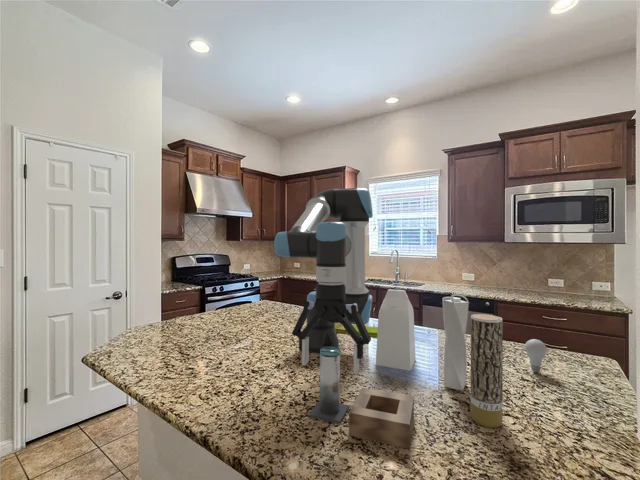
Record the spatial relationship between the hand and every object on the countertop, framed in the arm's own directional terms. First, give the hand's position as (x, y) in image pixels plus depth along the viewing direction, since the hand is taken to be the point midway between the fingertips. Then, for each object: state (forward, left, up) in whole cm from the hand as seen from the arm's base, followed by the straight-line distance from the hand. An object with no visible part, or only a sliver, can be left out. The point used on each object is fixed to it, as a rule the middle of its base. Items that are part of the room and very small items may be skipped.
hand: (330, 367), depth 79 cm
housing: (+14, -1, -11) cm, 18 cm away
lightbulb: (+56, +49, -11) cm, 76 cm away
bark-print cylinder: (+36, +10, -11) cm, 40 cm away
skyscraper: (+30, +28, -11) cm, 43 cm away
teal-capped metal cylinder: (0, 0, -11) cm, 11 cm away
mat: (0, 0, -11) cm, 11 cm away
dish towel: (-13, +76, -12) cm, 78 cm away
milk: (+12, +41, -12) cm, 44 cm away
